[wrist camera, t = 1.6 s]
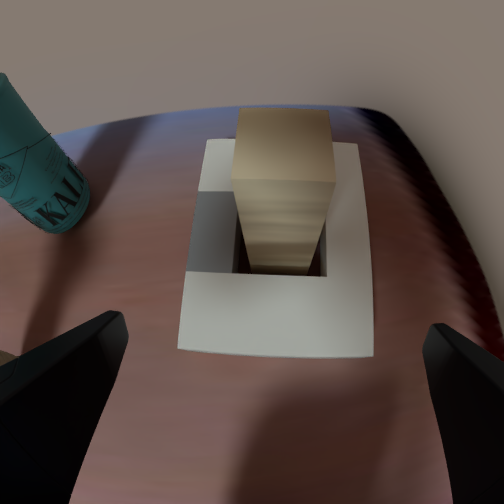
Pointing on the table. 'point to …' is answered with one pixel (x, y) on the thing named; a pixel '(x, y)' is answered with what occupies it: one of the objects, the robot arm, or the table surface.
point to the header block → (278, 286)
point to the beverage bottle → (37, 168)
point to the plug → (282, 185)
